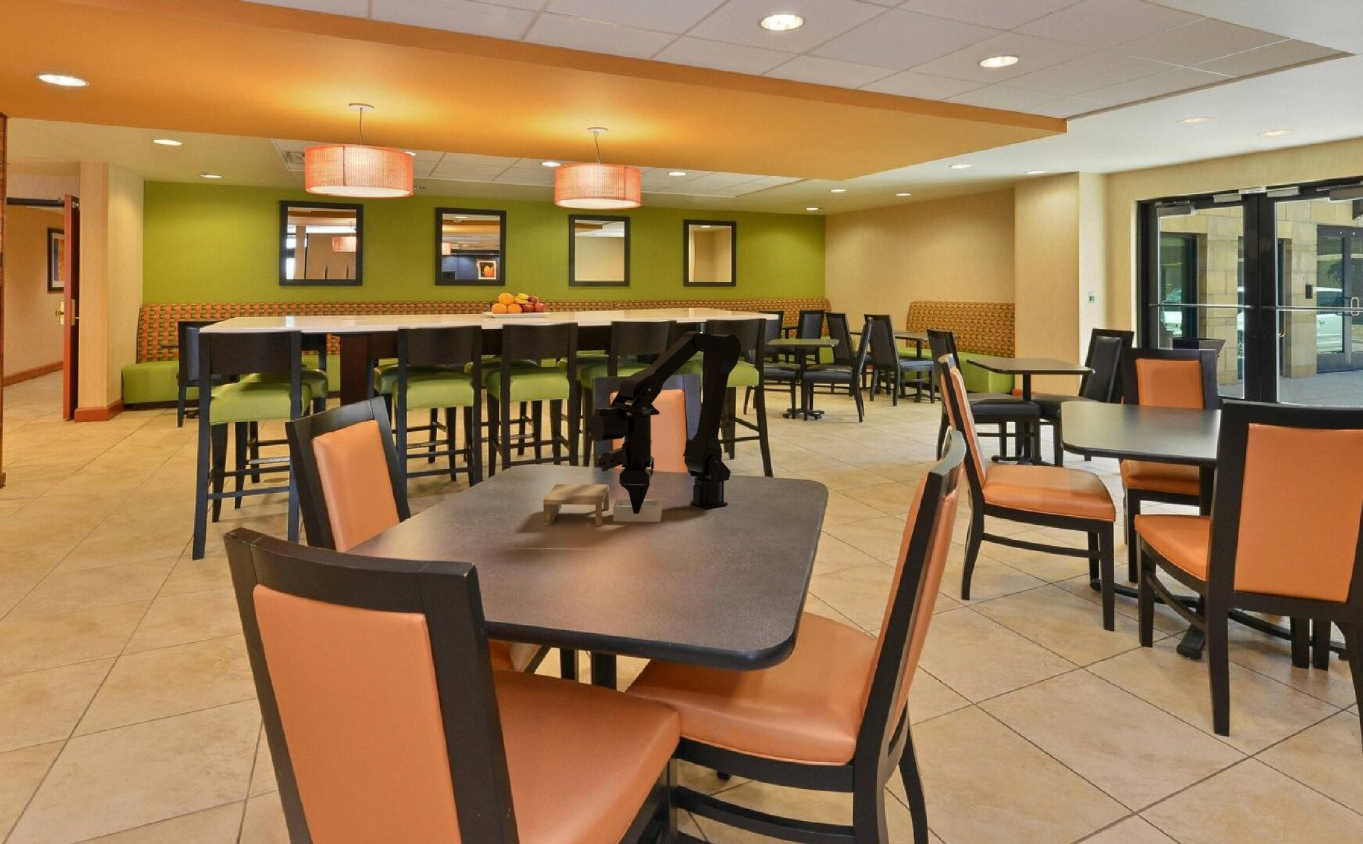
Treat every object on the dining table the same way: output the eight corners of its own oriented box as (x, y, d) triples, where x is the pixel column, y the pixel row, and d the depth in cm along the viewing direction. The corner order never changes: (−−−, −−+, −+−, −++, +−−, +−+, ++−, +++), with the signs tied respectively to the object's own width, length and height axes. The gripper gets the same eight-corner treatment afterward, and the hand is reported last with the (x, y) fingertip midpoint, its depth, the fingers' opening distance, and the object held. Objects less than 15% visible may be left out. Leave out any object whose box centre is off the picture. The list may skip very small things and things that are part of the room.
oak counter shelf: (609, 508, 175) (609, 484, 174) (601, 526, 160) (601, 500, 159) (556, 507, 175) (555, 484, 174) (543, 525, 160) (543, 499, 160)
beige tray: (661, 515, 170) (661, 499, 170) (660, 523, 164) (660, 507, 164) (616, 514, 171) (616, 499, 170) (613, 522, 164) (613, 506, 164)
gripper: (605, 429, 174) (605, 497, 176) (594, 444, 156) (594, 519, 158) (654, 430, 174) (654, 497, 176) (649, 444, 155) (649, 519, 158)
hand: (637, 508), depth 167 cm, fingers open, 9 cm apart
